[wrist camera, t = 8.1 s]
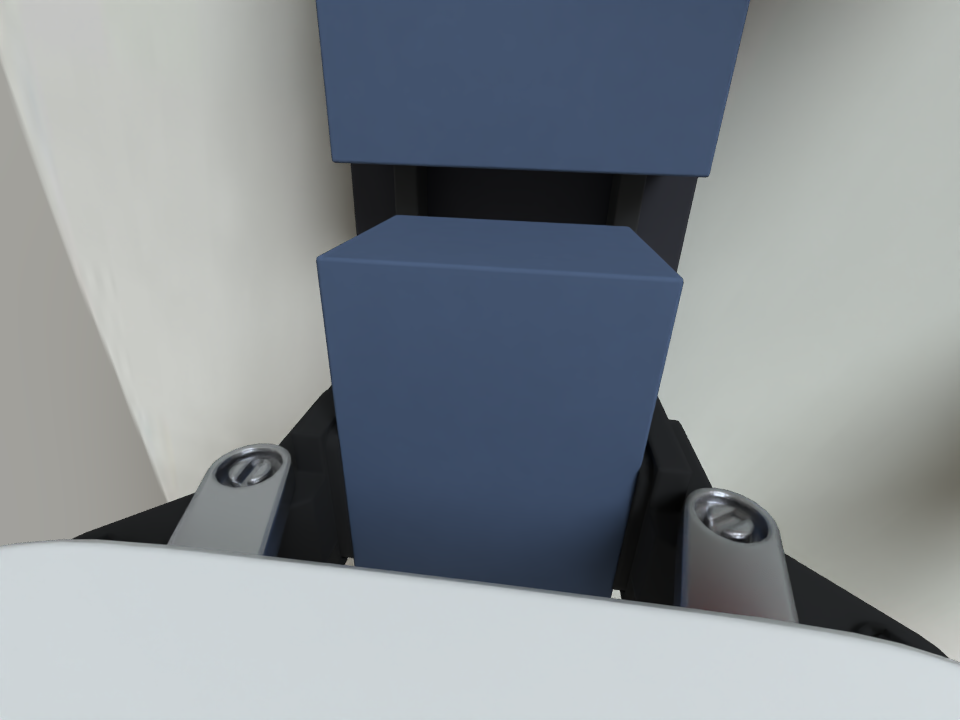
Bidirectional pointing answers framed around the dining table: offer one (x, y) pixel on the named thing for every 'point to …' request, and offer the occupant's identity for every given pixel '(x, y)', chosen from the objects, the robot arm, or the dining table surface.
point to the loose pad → (495, 394)
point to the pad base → (529, 108)
